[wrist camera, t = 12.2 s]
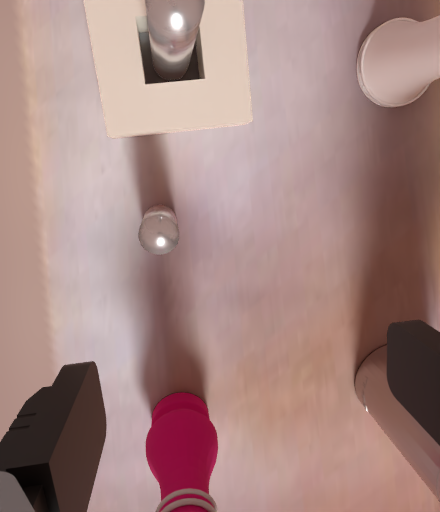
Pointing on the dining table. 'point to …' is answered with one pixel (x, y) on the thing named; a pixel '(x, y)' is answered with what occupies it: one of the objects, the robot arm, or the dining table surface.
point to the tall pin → (173, 34)
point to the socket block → (169, 93)
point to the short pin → (159, 230)
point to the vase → (399, 61)
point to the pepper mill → (182, 453)
